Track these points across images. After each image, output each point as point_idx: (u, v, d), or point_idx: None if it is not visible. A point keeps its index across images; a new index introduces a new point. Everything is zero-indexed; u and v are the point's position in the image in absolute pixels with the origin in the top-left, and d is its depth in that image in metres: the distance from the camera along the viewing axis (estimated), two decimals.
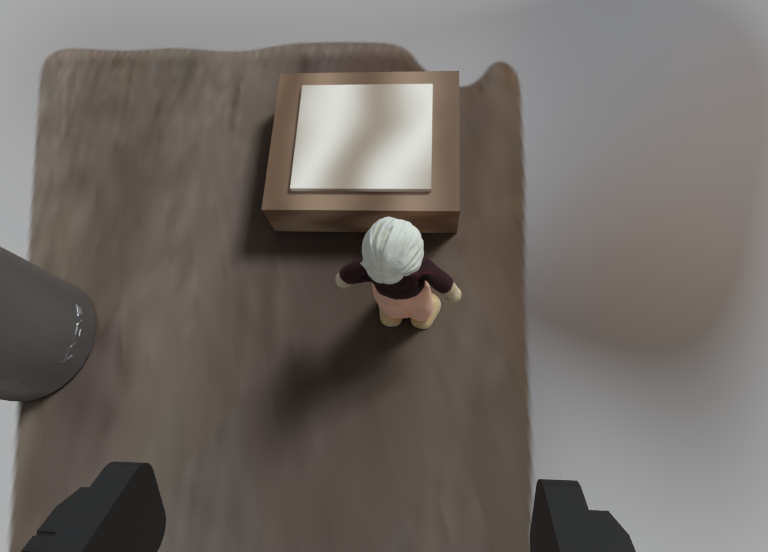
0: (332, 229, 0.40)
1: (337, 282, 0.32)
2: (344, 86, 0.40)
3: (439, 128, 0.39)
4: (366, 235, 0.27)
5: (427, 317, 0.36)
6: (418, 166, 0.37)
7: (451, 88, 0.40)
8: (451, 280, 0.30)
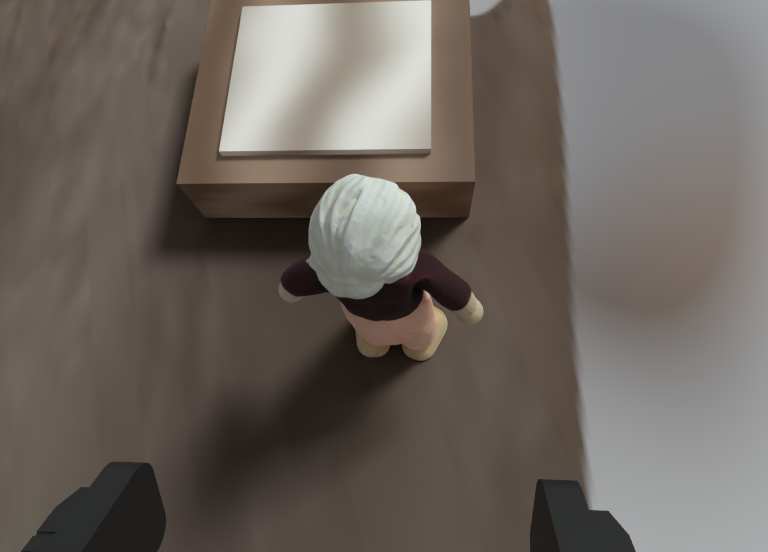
0: (287, 214, 0.27)
1: (281, 293, 0.20)
2: (303, 6, 0.28)
3: (441, 63, 0.26)
4: (315, 209, 0.15)
5: (427, 344, 0.23)
6: (411, 116, 0.25)
7: (458, 7, 0.27)
8: (468, 289, 0.18)
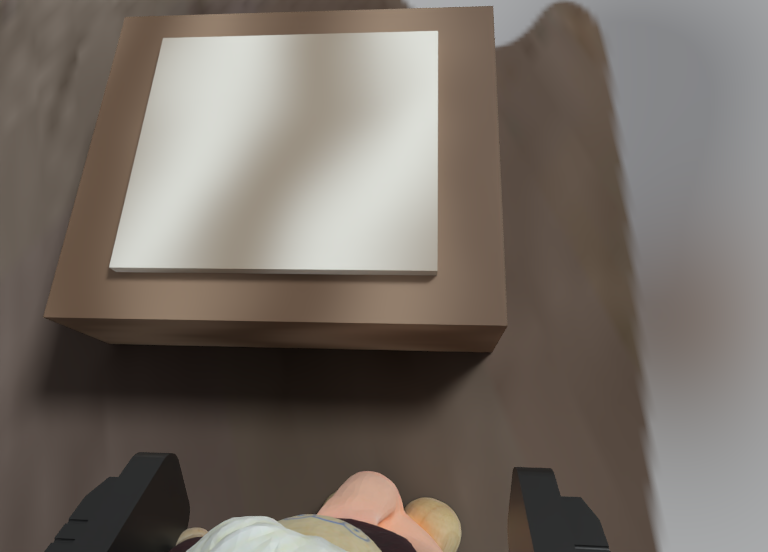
0: (225, 343, 0.19)
1: None
2: (250, 39, 0.19)
3: (453, 127, 0.17)
4: None
5: None
6: (407, 215, 0.16)
7: (477, 40, 0.19)
8: None
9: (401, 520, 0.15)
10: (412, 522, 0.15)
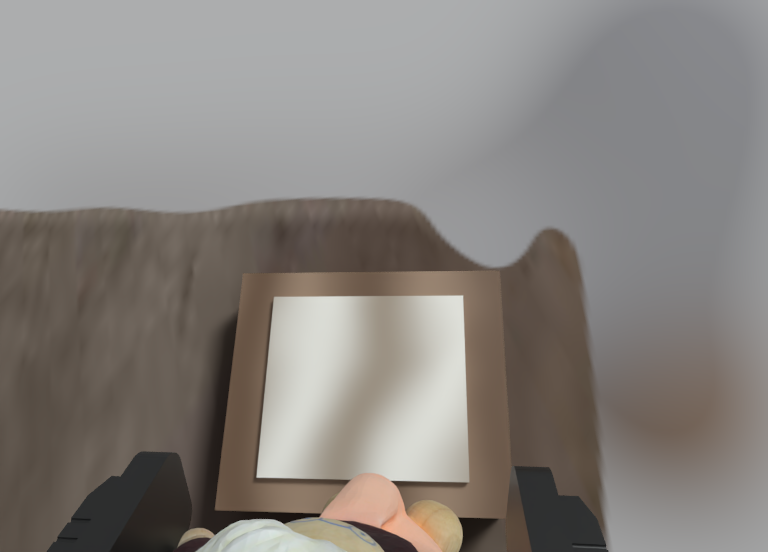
0: None
1: None
2: (334, 299, 0.28)
3: (475, 369, 0.26)
4: None
5: None
6: (448, 441, 0.25)
7: (489, 299, 0.27)
8: None
9: (403, 522, 0.15)
10: (414, 524, 0.15)
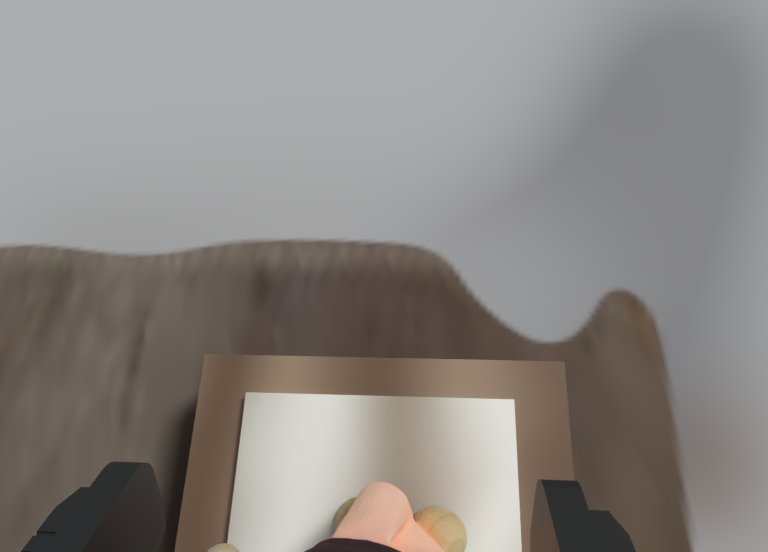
0: None
1: None
2: (331, 398, 0.19)
3: None
4: None
5: None
6: None
7: (551, 404, 0.19)
8: None
9: (411, 529, 0.16)
10: (421, 531, 0.16)
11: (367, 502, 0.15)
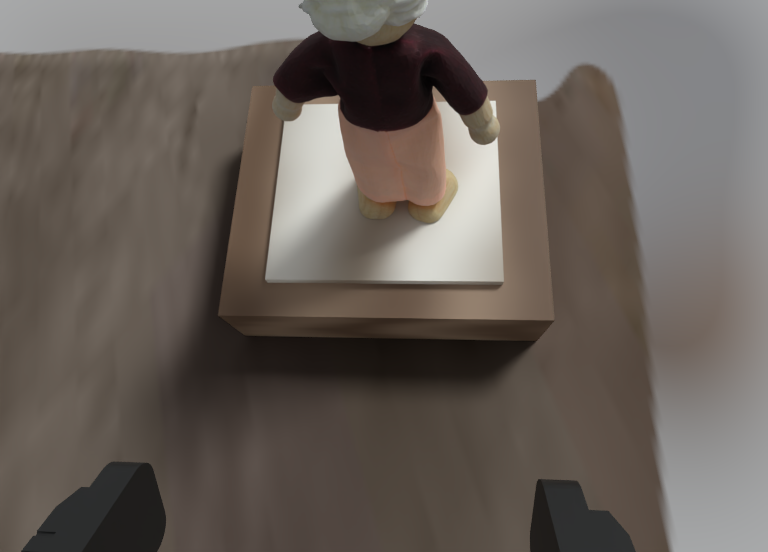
0: (336, 335, 0.25)
1: (274, 108, 0.18)
2: None
3: (509, 174, 0.24)
4: None
5: (436, 197, 0.21)
6: (480, 241, 0.22)
7: (524, 107, 0.25)
8: (484, 86, 0.16)
9: None
10: None
11: None
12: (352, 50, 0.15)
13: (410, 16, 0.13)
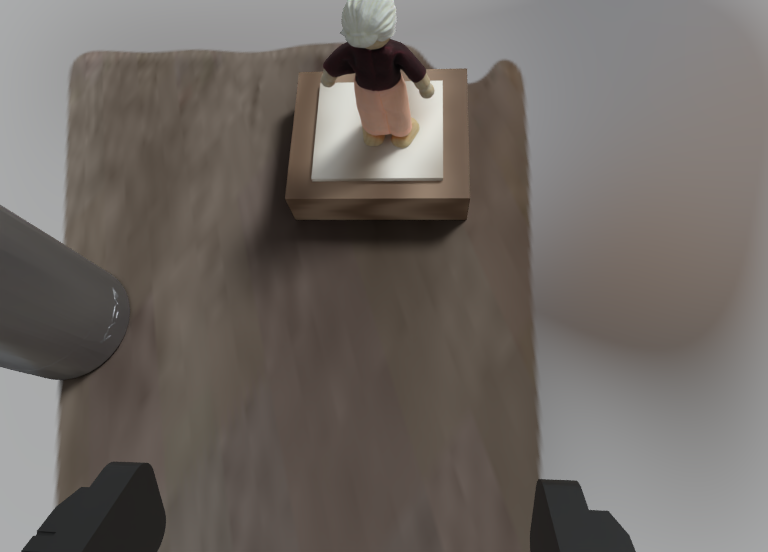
0: (349, 217, 0.43)
1: (322, 80, 0.36)
2: None
3: (449, 122, 0.41)
4: None
5: (406, 131, 0.39)
6: (430, 157, 0.40)
7: (459, 84, 0.42)
8: (424, 68, 0.34)
9: None
10: None
11: None
12: (362, 51, 0.32)
13: (387, 37, 0.30)
